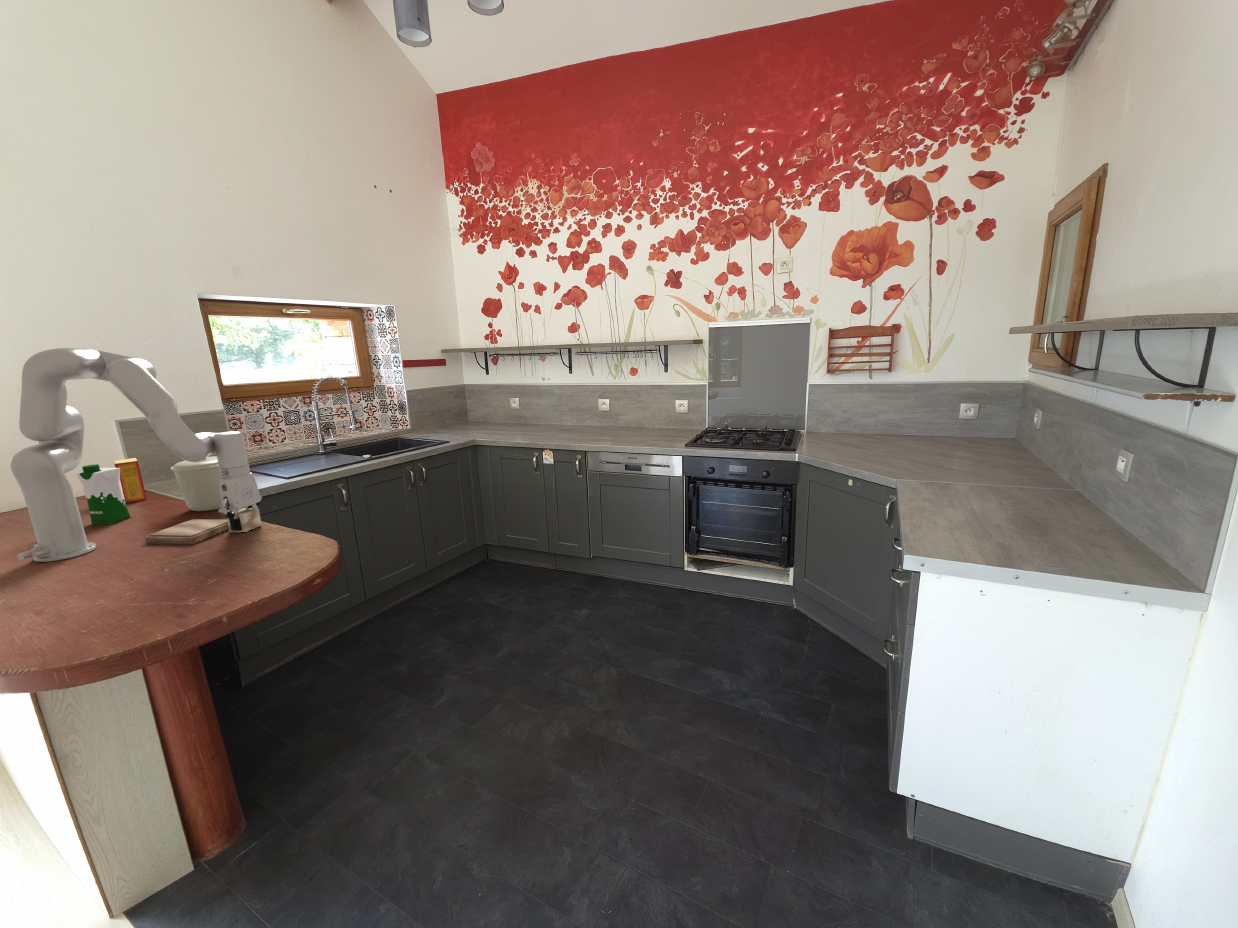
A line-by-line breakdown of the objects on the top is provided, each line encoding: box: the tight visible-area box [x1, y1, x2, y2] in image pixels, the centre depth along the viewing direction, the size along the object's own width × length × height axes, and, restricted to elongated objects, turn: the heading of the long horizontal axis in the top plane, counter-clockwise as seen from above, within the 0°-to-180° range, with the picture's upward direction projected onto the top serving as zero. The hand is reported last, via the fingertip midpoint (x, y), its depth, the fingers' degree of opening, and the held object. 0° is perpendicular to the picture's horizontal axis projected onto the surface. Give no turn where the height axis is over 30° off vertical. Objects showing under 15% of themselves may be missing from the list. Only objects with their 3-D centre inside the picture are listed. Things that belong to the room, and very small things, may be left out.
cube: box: [226, 507, 262, 533], centre depth 167 cm, size 6×6×6 cm
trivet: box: [144, 518, 229, 545], centre depth 165 cm, size 16×16×2 cm
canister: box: [170, 455, 222, 512], centre depth 192 cm, size 18×18×21 cm
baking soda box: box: [112, 457, 148, 504], centre depth 206 cm, size 10×6×16 cm
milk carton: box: [76, 463, 132, 525], centre depth 179 cm, size 9×9×20 cm
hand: (245, 526), depth 168 cm, fingers closed on cube, 6 cm apart
